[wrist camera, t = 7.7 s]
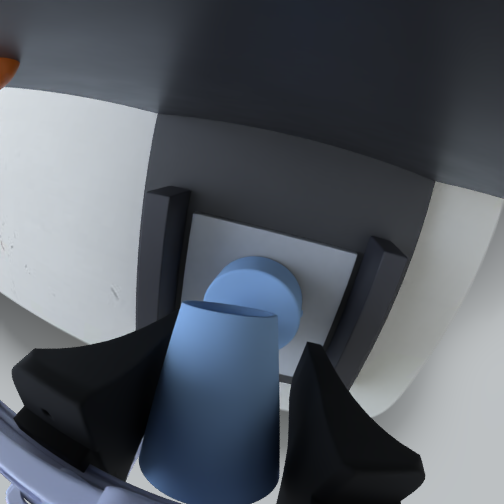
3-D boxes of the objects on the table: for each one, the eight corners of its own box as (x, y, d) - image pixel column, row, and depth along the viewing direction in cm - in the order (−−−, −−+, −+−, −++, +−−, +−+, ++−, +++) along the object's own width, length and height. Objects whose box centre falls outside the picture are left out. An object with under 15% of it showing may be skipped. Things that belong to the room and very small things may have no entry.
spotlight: (295, 366, 15) (315, 247, 13) (264, 536, 6) (309, 440, 4) (209, 351, 16) (210, 234, 14) (128, 496, 7) (54, 363, 4)
